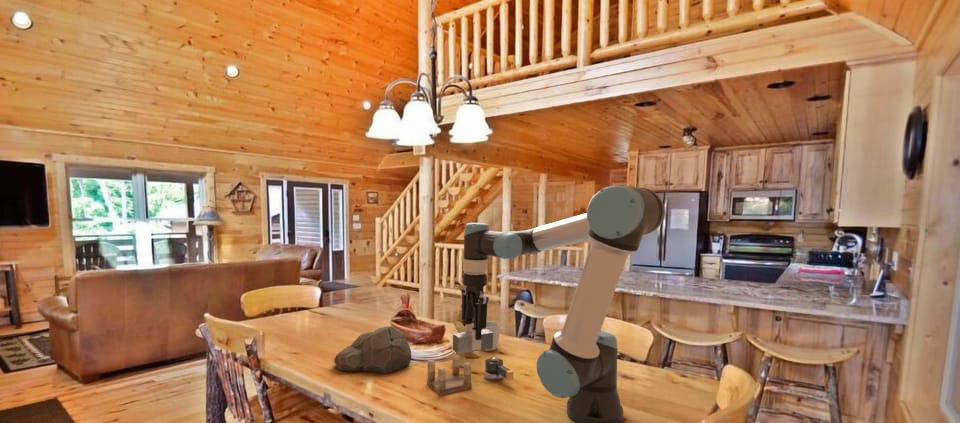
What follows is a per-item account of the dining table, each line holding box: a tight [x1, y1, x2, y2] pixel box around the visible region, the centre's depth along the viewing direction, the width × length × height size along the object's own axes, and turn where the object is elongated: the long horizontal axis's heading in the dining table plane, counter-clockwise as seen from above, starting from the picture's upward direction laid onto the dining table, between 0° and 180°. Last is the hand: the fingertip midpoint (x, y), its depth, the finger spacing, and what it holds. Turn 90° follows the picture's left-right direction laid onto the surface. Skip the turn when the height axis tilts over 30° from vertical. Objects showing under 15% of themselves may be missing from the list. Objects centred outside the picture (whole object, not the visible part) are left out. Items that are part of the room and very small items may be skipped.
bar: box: [452, 329, 493, 354], centre depth 131 cm, size 4×12×5 cm, turn 119°
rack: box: [426, 354, 473, 396], centre depth 134 cm, size 10×11×8 cm
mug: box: [482, 320, 501, 352], centre depth 173 cm, size 13×9×10 cm
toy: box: [453, 281, 482, 368], centre depth 154 cm, size 23×9×30 cm, turn 168°
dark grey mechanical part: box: [484, 356, 514, 381], centre depth 139 cm, size 13×6×4 cm, turn 31°
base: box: [484, 370, 504, 382], centre depth 142 cm, size 6×6×2 cm
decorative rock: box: [333, 325, 412, 375], centre depth 153 cm, size 27×22×15 cm
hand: (472, 346), depth 131 cm, fingers closed on bar, 4 cm apart
